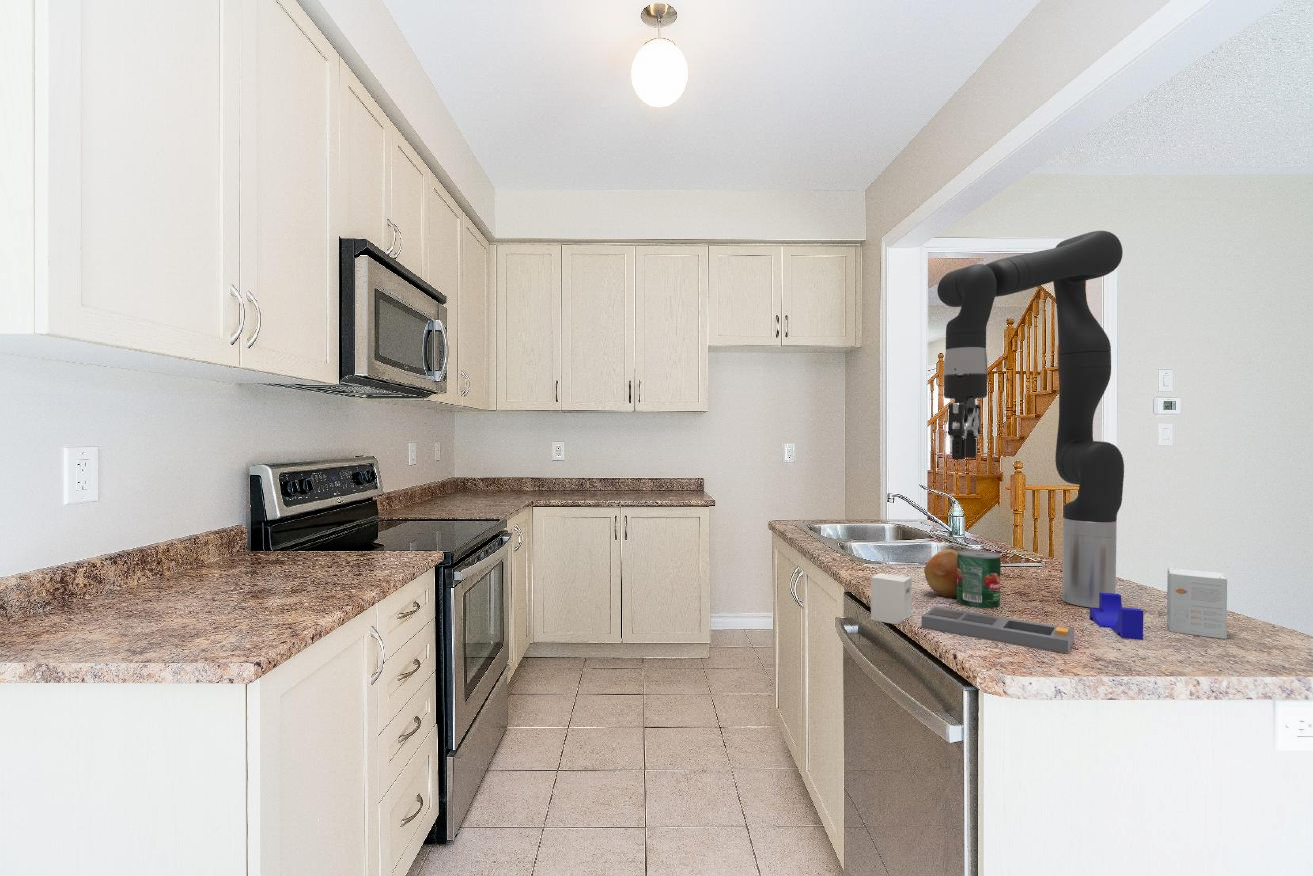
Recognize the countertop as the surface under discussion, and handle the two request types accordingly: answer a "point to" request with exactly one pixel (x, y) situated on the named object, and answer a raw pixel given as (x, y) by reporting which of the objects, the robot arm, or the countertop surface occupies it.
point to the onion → (943, 573)
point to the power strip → (1000, 629)
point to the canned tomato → (978, 578)
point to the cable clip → (1118, 617)
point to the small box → (1197, 603)
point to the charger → (890, 598)
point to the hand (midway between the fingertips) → (964, 458)
